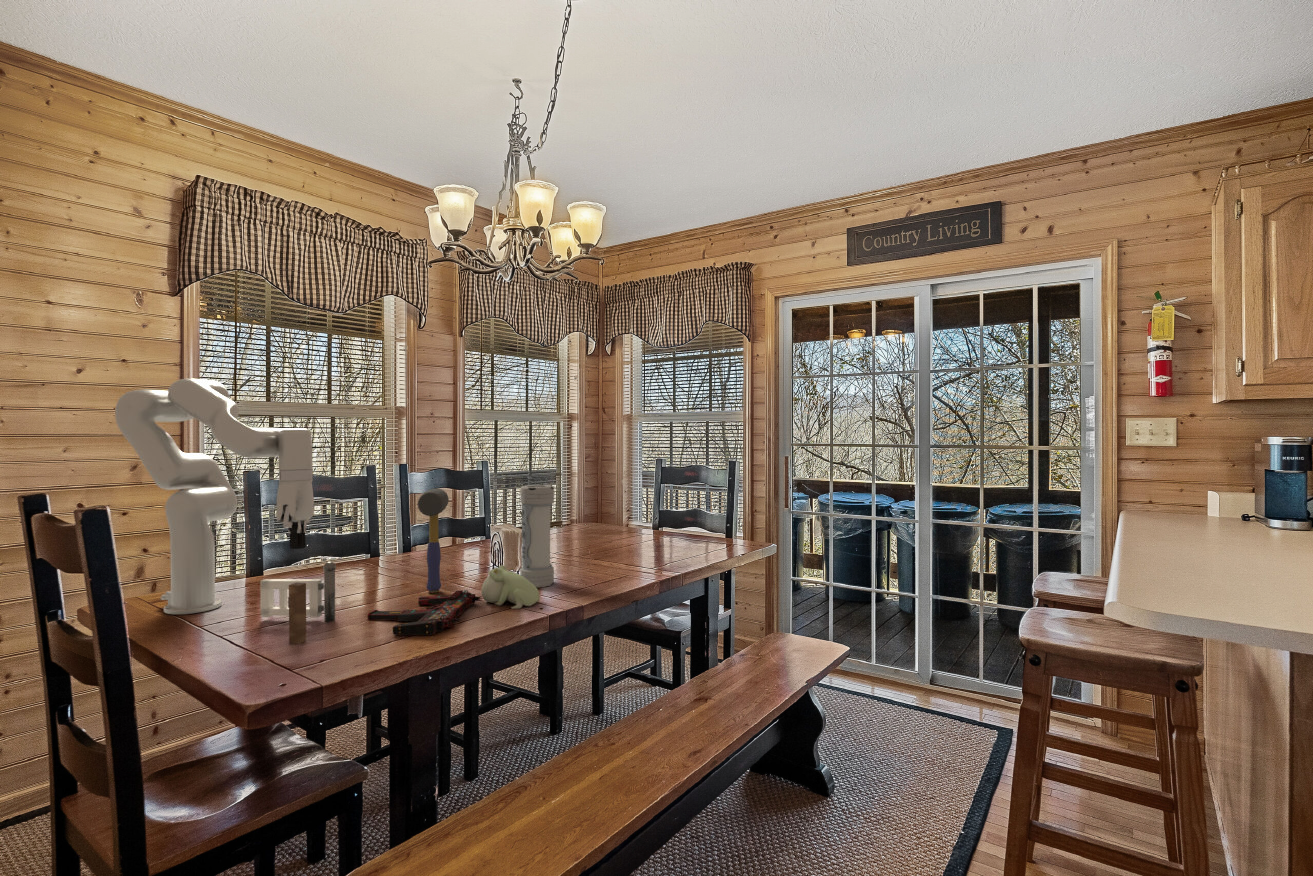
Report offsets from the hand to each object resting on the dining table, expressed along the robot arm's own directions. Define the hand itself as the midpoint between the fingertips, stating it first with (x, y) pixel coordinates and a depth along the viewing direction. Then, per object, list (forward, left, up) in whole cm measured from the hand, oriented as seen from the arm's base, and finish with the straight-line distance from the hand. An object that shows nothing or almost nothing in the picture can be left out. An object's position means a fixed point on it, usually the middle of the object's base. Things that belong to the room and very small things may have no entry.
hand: (297, 548), depth 171 cm
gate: (+3, -6, -16) cm, 17 cm away
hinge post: (+12, -4, -17) cm, 21 cm away
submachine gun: (+32, +5, -18) cm, 37 cm away
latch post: (+16, -20, -17) cm, 31 cm away
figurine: (+49, +20, -17) cm, 56 cm away
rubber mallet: (+23, +27, -17) cm, 39 cm away
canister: (+49, +42, -17) cm, 67 cm away
